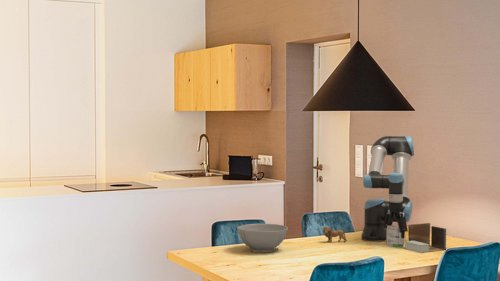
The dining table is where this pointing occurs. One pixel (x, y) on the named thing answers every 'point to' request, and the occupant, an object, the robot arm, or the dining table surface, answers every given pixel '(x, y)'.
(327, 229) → the lion figurine
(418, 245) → the flat grey box
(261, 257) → the dining table surface
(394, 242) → the ink box
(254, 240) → the decorative bowl
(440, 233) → the bookend
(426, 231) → the shelf
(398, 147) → the robot arm
